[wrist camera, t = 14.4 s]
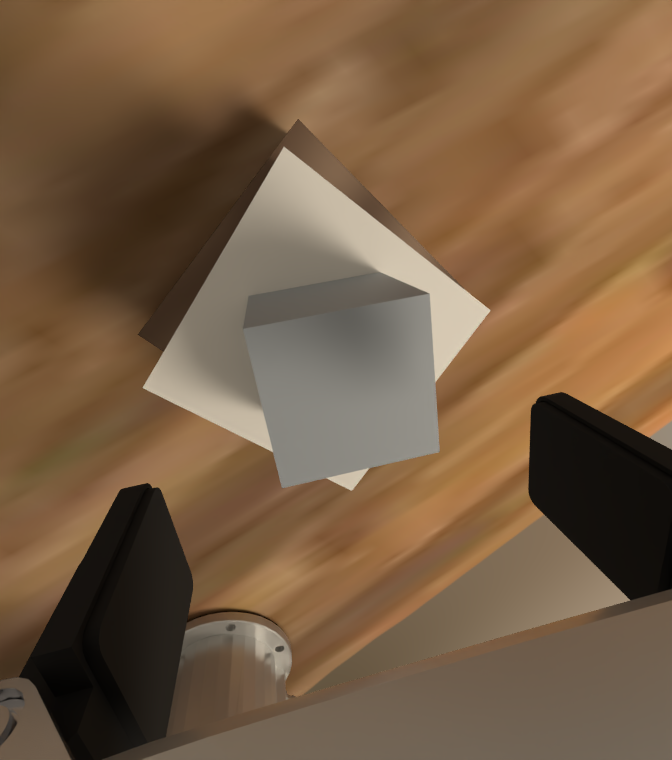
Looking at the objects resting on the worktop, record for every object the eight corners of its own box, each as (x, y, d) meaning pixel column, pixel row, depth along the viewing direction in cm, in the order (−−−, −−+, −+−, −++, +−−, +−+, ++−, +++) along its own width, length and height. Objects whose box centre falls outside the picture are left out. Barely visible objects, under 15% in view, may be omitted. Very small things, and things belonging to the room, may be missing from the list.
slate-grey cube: (379, 272, 19) (429, 293, 13) (392, 390, 21) (439, 452, 15) (248, 295, 18) (242, 328, 13) (276, 415, 20) (282, 488, 15)
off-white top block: (447, 293, 25) (490, 310, 20) (336, 445, 27) (351, 490, 23) (278, 162, 21) (283, 146, 16) (165, 355, 23) (142, 387, 19)
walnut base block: (441, 287, 30) (474, 299, 25) (318, 426, 32) (327, 460, 28) (290, 137, 25) (297, 118, 20) (158, 315, 27) (137, 334, 23)
